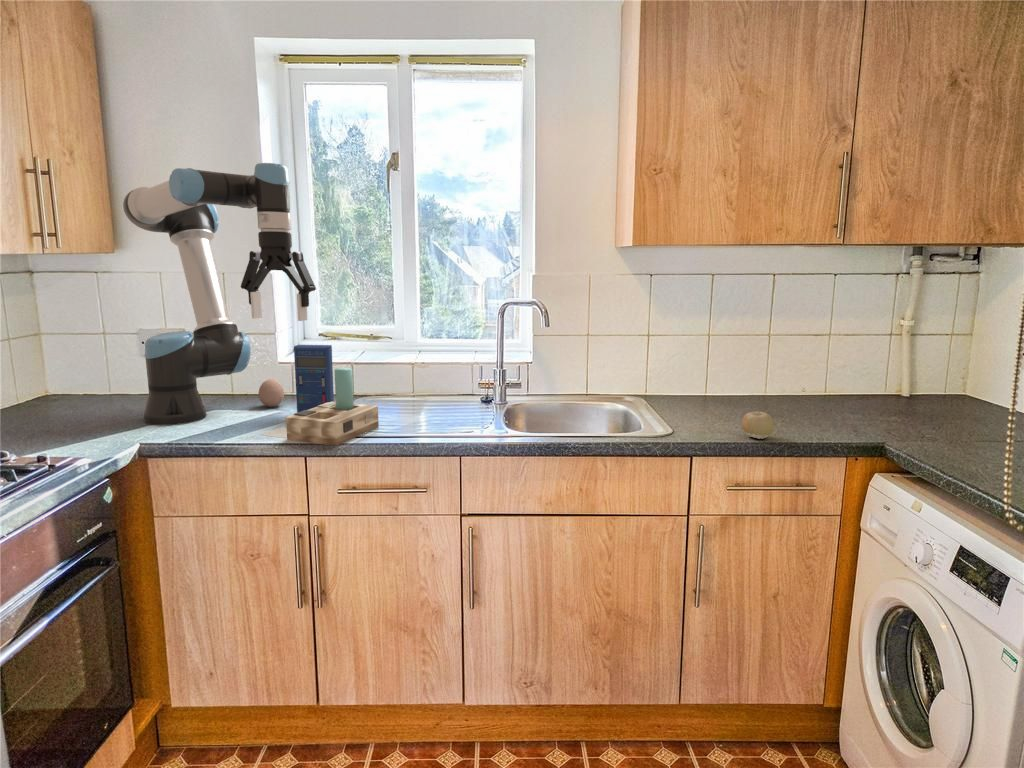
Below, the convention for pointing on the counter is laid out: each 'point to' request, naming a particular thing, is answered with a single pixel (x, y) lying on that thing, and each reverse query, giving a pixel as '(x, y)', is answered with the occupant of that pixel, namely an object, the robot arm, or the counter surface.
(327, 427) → the socket block
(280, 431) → the mat
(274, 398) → the egg
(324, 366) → the electronic device
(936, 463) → the counter surface
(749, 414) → the fruit
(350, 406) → the pale green cylinder
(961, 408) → the counter surface
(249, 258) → the robot arm
